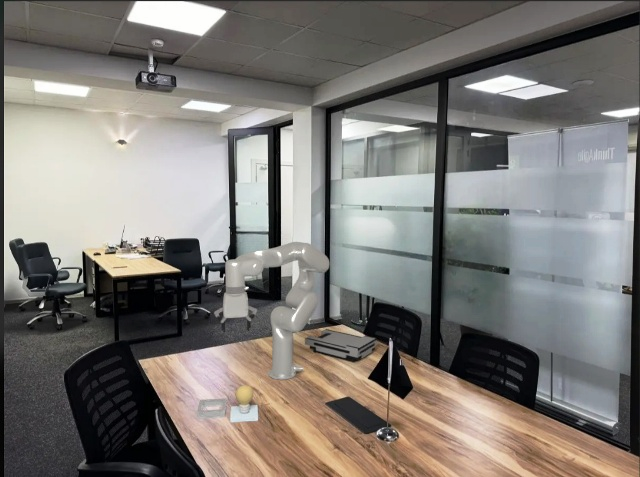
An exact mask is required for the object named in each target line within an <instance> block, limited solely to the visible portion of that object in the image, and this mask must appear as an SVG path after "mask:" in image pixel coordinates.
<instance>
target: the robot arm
mask: <svg viewBox="0 0 640 477" xmlns="http://www.w3.org/2000/svg"><path fill="white" fill-rule="evenodd" d="M296 261H297V266H298V272H299V273H298V278H297V280H296V281H295V283H294V284H293V286H292V287H291V289H290V290H289V291H288V293H287V295H286V296H285V304H286V305H287V306H288V307H287V306H283V305H282V306H281V305H280V306H277V307H275V308H274V309H273V310H271V313H270V324H271V330H272V332H271V333H272V344H271V345H272V347H271V348H272V350H271V351H272V352H271V353H272V354H271V356H272V357H271V358H272V359H271V361H272V363H271V369H270V370H269V371H268V375H269V377H270V378H272V379H274V380H281V381H284V380H290V379H293V378H294V377H296V375H297V372H298V371H299V372H302V371H304V366H303V365H302V366H301V365H300V364H297V365H296V364H294V333H299V332H301V331H302V330H303V329H305V327H306V325H307V324H308V322H309V321H310V319H311V318H312V316H313V315H314V312H315V311H316V310H317V307H318V302H319V301H318V300H319V299H318V296H317V294H316V293H315V292H313V291H312V290H313V289H314V287H315V285H316V284H315V282H316V279H315V273H316V274H324V273H326V272H327V271H328V270H329V269H330V260H329V258H328V256H327V255H326V254H324V253H323V252H322V251H321V250H319V249H318V248H316V247H315V246H314V245H313V244H310V243H308V242H302V241H291V242H288V243H285V244H283V245H279V246H277V247H272V248H267V249H262V250H255V251H251V252H250V251H249V252H246V253H243V254H241V255H239V256H236V258H235V259H229V260H227V261H226V262H225V265H224V266H225V268H224V269H225V292H224V293H223V300H222V301H223V304H222V307H220V308H218V309H217V310H215V311H214V313H213V315H214V316H215V317H216V320H218V321H219V322H220V323H221V330H222V331H223V333H226V320H227V319H237V318H239V319H240V318H246V330H247V332H248V331H250V329H251V328H252V326H251V325H252V324H251V323H252V322H251V321H252V320H253V319H254V318H255V317H256V315H257V312H258V309H257V308H256V307H252V306H251V305H249V301H248V300H249V299H248V298H249V297H248V294H247V293H248V292H246V291H248V290H249V286H246V283H245V277H257V276H259V275H261V274H262V272H263V271H264V268H278V267H282V266H285V265H287V264H290V263H292V262H296ZM249 311H251V312H252V313H251V314H250V315H249ZM220 313H223V316H221V315H220Z"/></svg>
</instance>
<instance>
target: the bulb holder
mask: <svg viewBox="0 0 640 477" xmlns="http://www.w3.org/2000/svg"><path fill="white" fill-rule="evenodd" d="M212 407H213V408H215V407H221V409H206V410H205V409H204V408H212ZM203 409H204V410H203ZM226 410H227V398H226V397H225V398H210V399H208V398H205V399H199V402H198V408H197V412H196V420H201V419H203V420H204V419H217V418H226Z"/></svg>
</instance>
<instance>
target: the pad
mask: <svg viewBox="0 0 640 477" xmlns="http://www.w3.org/2000/svg"><path fill="white" fill-rule="evenodd" d="M249 406H250V408H249V409H250V410H249V412H248V413H241V412H240V411H239V407H240V406H239V405H235V406H234V405H233V406H230V418H229V423H242V422H257V421H259V409H258V404H250V405H249Z"/></svg>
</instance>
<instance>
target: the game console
mask: <svg viewBox="0 0 640 477" xmlns="http://www.w3.org/2000/svg"><path fill="white" fill-rule="evenodd" d="M320 333H321V334H320V335H319V336H318V337H316V336H312V335H310V336H307V337H305V338H304V345H305V346H309V349H311V350H313V351H312V352H313V353H316V354H320V355H322V356H323V355H324V356H327V357H331V358H333V359H334V358H335V359H337V360H338V359H339V360H342V361H345V362H346V361H347V362H349V363H350V362H351V363H354V364H355V363H356V362H358V361H359V360H361V359H363V358H365V357H367V356H368V355H370V354H371V353H373V351H375V350H376V347H377V337H374V336H369V335H366V334H365V335H364V336H359V335H355V334H350V333H346V332H341V331H337V330H332V329H327V328H325V329H324V330H322V331H320Z"/></svg>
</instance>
